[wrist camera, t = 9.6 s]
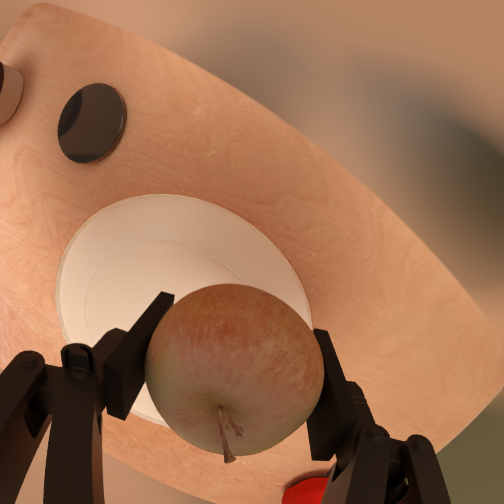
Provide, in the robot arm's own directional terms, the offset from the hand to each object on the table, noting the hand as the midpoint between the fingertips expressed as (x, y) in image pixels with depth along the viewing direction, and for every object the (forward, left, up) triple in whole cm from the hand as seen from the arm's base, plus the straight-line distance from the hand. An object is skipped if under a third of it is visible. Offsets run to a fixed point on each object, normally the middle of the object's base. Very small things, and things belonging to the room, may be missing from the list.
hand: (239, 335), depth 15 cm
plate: (+9, -6, -11) cm, 16 cm away
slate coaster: (-10, -18, -11) cm, 23 cm away
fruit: (0, 0, -1) cm, 1 cm away
